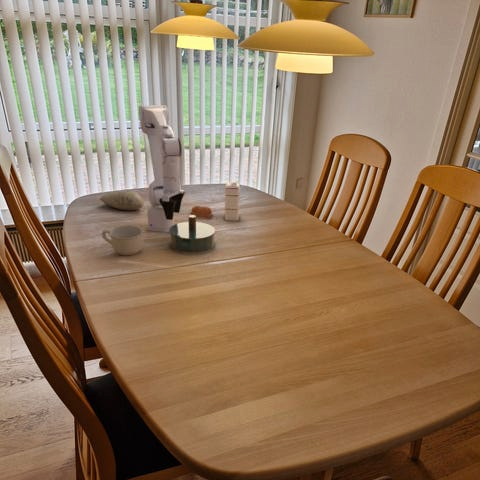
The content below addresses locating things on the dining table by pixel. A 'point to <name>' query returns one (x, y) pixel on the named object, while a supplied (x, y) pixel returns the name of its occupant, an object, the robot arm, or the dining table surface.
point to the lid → (192, 230)
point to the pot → (192, 244)
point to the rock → (123, 200)
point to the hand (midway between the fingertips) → (172, 215)
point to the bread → (201, 211)
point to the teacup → (125, 239)
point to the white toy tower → (232, 201)
